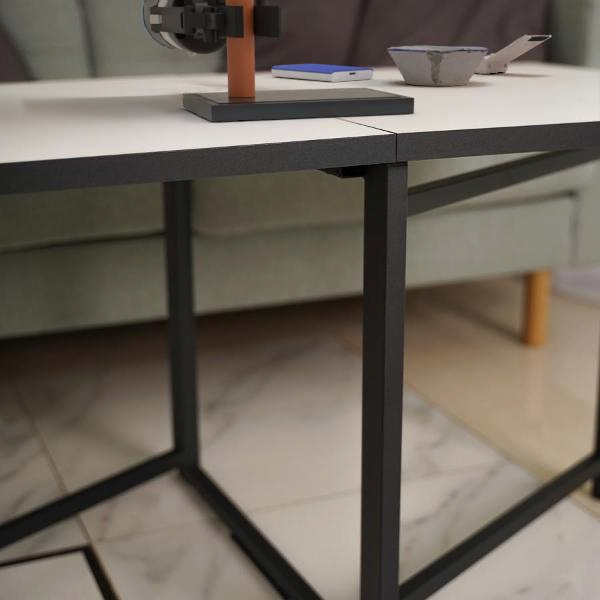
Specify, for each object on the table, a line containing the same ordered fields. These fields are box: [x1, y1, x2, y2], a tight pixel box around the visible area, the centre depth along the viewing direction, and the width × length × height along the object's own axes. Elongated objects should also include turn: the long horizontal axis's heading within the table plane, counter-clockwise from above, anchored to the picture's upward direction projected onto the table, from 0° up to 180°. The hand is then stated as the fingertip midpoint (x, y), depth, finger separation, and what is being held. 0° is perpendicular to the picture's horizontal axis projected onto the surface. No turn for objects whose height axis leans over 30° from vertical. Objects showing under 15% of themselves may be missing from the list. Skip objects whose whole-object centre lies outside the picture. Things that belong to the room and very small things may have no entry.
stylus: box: [226, 0, 256, 98], centre depth 86 cm, size 3×3×12 cm
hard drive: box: [271, 63, 374, 83], centre depth 129 cm, size 2×8×12 cm
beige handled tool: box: [474, 34, 552, 75], centre depth 139 cm, size 6×6×25 cm
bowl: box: [386, 44, 490, 87], centre depth 120 cm, size 13×13×5 cm
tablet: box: [182, 87, 415, 123], centre depth 90 cm, size 20×12×2 cm, turn 109°
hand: (257, 21), depth 81 cm, fingers closed on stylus, 3 cm apart
